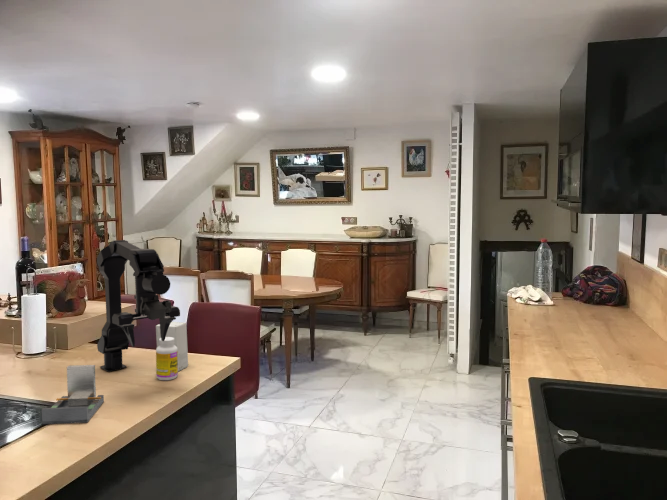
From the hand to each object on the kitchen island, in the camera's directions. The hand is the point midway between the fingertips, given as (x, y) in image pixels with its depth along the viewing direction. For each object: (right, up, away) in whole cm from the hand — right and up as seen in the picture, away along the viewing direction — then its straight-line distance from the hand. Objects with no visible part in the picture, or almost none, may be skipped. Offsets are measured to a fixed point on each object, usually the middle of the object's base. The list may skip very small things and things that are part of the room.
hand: (148, 343), depth 158 cm
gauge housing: (-14, -16, -16) cm, 27 cm away
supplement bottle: (+2, -14, +13) cm, 19 cm away
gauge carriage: (-15, -15, -11) cm, 24 cm away
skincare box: (0, -13, +22) cm, 25 cm away
